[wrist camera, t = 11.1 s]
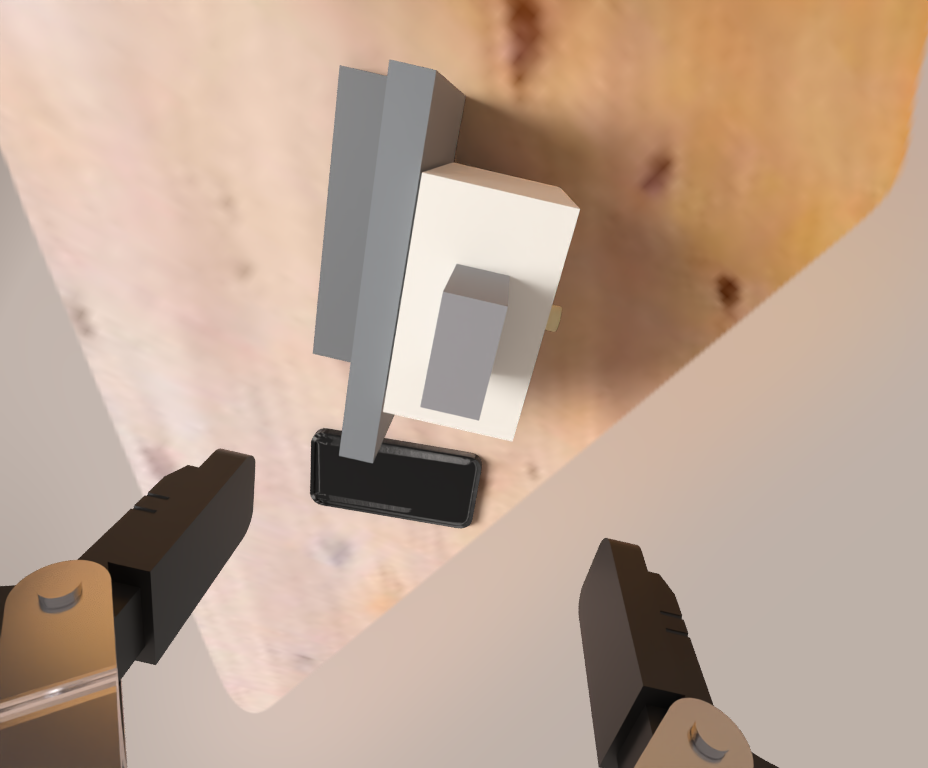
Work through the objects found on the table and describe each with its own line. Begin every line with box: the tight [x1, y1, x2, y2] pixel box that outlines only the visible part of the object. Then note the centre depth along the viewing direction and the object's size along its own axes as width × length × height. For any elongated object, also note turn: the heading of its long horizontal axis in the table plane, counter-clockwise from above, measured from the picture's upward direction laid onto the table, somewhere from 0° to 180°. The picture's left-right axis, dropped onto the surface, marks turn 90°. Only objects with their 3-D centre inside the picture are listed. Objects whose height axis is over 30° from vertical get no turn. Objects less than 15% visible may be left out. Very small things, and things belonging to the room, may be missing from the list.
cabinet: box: [383, 162, 580, 441], centre depth 29 cm, size 8×12×17 cm, turn 168°
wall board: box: [313, 60, 466, 463], centre depth 33 cm, size 12×20×14 cm, turn 168°
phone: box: [310, 428, 482, 528], centre depth 48 cm, size 8×1×15 cm
